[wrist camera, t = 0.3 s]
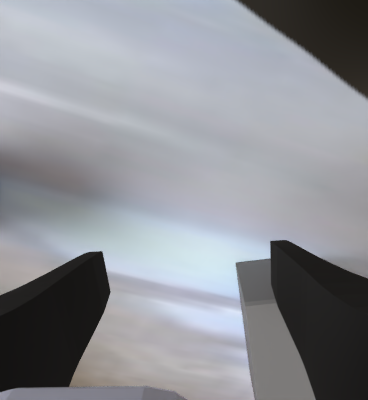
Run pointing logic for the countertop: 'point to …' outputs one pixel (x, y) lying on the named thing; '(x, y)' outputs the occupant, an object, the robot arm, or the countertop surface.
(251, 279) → the grey long block
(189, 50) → the countertop surface
